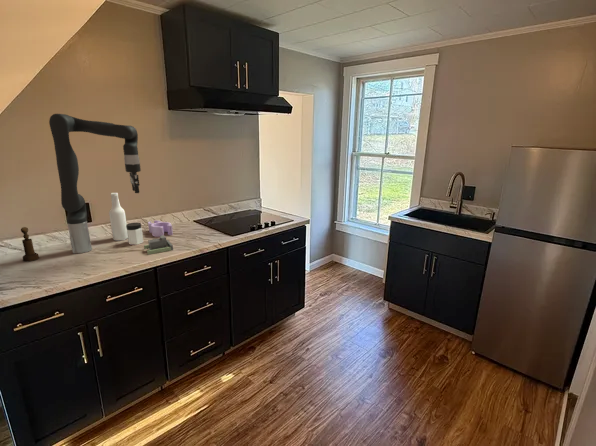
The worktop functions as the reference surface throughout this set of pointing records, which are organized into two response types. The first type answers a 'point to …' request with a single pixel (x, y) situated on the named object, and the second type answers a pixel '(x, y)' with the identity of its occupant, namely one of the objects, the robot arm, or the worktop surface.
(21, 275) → the worktop surface
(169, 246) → the deck socket
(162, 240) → the upright grey block
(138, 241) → the jar
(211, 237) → the worktop surface
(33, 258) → the brown chess pawn
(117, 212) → the alcohol
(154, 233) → the clip
